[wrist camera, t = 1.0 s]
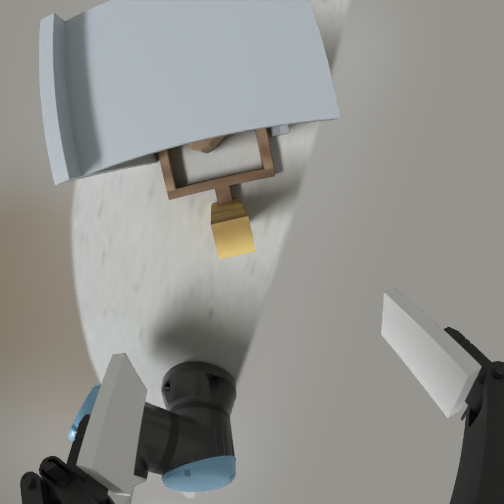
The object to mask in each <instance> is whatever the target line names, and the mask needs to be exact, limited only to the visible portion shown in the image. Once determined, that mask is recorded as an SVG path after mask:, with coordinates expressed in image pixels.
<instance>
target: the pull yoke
mask: <svg viewBox="0 0 504 504" xmlns="http://www.w3.org/2000/svg"><path fill="white" fill-rule="evenodd" d="M255 132H256V137H257V142H258V147H259V152H260V157H261V162H262V168H263V169H258V170H253V171H248V172H243V173H238V174H233V175H229V176H224V177H220V178H215V179H211V180H207V181H202V182H198V183H194V184H190V185H186V186H182V187H178V188H177V185H176V180H175V176H174V172H173V168H172V163H171V159H170V154H169V150H168V149H166V150H163V151H159V152H158V155H159V159H160V164H161V168H162V172H163V177H164V181H165V185H166V189H167V193H168V197H169V200H171V199H175V198H179V197H182V196H186V195H190V194H195V193H199V192H203V191H207V190H211V189H215V192H216V196H217V201H218V203H216V204H212V206H211V227H212V232H213V236H214V240H215V244H216V248H217V252H218V256H219V260H220V259H224V258H229V257H233V256H237V255H242V254H246V253H251V252H255V247H254V242H253V237H252V232H251V227H250V222H249V217H248V215H247V213H246V211H245V209H244V207H243V206H242V204H241V202H240V200H239V198H238V199H234V200H232V197H231V192H230V187H229V185H234V184H238V183H243V182H248V181H253V180H258V179H263V178H268V177H273V176H275V173H274V167H273V162H272V157H271V151H270V146H269V141H268V136H267V131H266V128H262V129H256V130H255Z"/></svg>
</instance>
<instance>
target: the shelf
mask: <svg viewBox="0 0 504 504" xmlns="http://www.w3.org/2000/svg"><path fill="white" fill-rule="evenodd" d="M39 39H40V40H39V76H40V95H41V105H42V116H43V124H44V131H45V138H46V144H47V150H48V155H49V160H50V165H51V170H52V175H53V179H54V183H55V185H58V184H62V183H66V182H69V181H73V180H77V179H81V178H85V177H90V176H94V175H98V174H103V173H107V172H112V171H117V170H121V169H126V168H132V167H137V166H142V165H148V164H152V163H156V157H155V153H156V152H159V151H163V150H166V149H170V148H174V147H178V146H181V145H185V144H189V143H193V142H198V141H202V140H206V139H211V138H215V137H220V136H225V135H229V134H235V133H240V132H245V131H251V130H256V129H262V128H270V133H271V137H272V136H279V135H282V134H286V133H289V128H288V125H290V124H297V123H306V122H315V121H326V120H334V119H339V118H340V114H339V109H338V103H337V99H336V94H335V90H334V85H333V80H332V76H331V72H330V68H329V64H328V60H327V56H326V52H325V48H324V45H323V41H322V37H321V34H320V31H319V27H318V24H317V21H316V18H315V15H314V11H313V8H312V5H311V2H310V0H111V1H109V2H106V3H104V4H101V5H99V6H97V7H94V8H92V9H90V10H88V11H86V12H83V13H81V14H79V15H77V16H75V17H73V18H71V19H69V20H67V21H64V20H63V19H61V18H60V17H59V16H58V15H56V14H55V13H53V14H51V15H49V16H47V17H46V18H44V19H43V20H41V22H40V38H39Z"/></svg>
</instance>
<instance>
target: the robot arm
mask: <svg viewBox="0 0 504 504" xmlns="http://www.w3.org/2000/svg"><path fill="white" fill-rule="evenodd" d="M381 335H382V336H383V337H384V338H385V339H386V341H387V342H388V343H389V344H390V346H391V347H392V348H393V349H394V350H395V352H396V353H397V354H398V355H399V356H400V358H401V359H402V360H403V361H404V363H405V364H406V365H407V366H408V368H409V369H410V370H411V371H412V373H413V374H414V375H415V376H416V378H417V379H418V380H419V381H420V382H421V384H422V385H423V387H424V388H425V389H426V390H427V392H428V393H429V394H430V396H431V397H432V398H433V400H434V401H435V402H436V403H437V405H438V406H439V407H440V409H441V410H442V411H443V413H444V414H445V415H446V417H447V418H449V417H450V416H452V415H453V414H455V413H456V412H457V411H459V410H460V409H461V407H462V405H463V404H464V402H466V403H467V404H468V407H467V409H466V410H465V412H464V414H463V415H462V418H461V420H463V419H464V417H465V416H466V421H465V430H464V438H463V445H462V452H461V457H460V463H459V468H458V473H457V477H456V482H455V486H454V490H453V494H452V497H451V501H450V504H504V362H500V361H496V362H491V361H490V360H489V359H488V358H487V357H485V356H484V354H482V353H481V352H480V351H479V350H478V349H477V348H476V347H475V346H474V345H473V344H471V343H470V341H469V340H467V339H465V337H464V336H463V335H462V334H461V333H460V332H459V331H457V330H455V329H452V328H450V327H447V328H445V329H442V328H441V327H440V326H439V325H438V324H437V323H436V322H434V321H433V320H432V319H431V318H430V317H429V316H428V315H427V314H426V313H424V312H423V311H422V310H421V309H420V308H419V307H418V306H416V305H415V304H414V303H413V302H412V301H411V300H409V299H408V298H407V297H406V296H405V295H404V294H403V293H401V292H400V291H399V290H398V289H397V288H395V289H392V290H389V291H386V292H384V302H383V317H382V330H381ZM146 394H147V389H146V387H145V385H144V384H143V382H142V381H141V379H140V377H139V376H138V374H137V372H136V371H135V369H134V367H133V366H132V364H131V362H130V360H129V359H128V357H127V355H126V353H122V354H114V355H112V358H111V360H110V363H109V366H108V368H107V371H106V373H105V376H104V379H103V382H102V384H97V385H95V386H94V387H93V388H92V390H91V391H90V393H89V395H88V396H87V398H86V400H85V401H84V403H83V405H82V407H81V409H80V410H79V412H78V414H77V416H76V418H75V420H74V423H73V425H72V427H71V429H70V431H69V433H68V438H69V439H70V440H71V442H73V444H72V447H71V450H70V454H69V457H68V460H67V464H65V463H64V462H63V461H62V460H60V459H59V458H58V457H56V456H50V457H47V458H45V459H44V460H43V461H42V463H41V464H40V468H39V473H40V475H41V476H42V477H40V476H39V475H37V474H36V473H34V472H27V473H25V474H24V475H23V476H22V478H21V483H20V487H21V496H22V504H131V501H132V496H133V491H134V487H135V486H136V485H138V484H140V483H143V482H145V481H146V480H147V475H148V471H150V472H153V473H156V474H160V475H162V478H161V479H162V481H163V483H164V485H165V486H166V487H169V488H171V489H173V490H177V491H183V492H204V491H211V490H215V489H218V488H222V487H224V486H226V485H228V484H229V483H231V482H232V481H233V479H234V478H235V475H236V467H235V466H236V465H235V464H236V463H235V462H236V458H235V455H234V447H233V440H232V432H231V423H230V414H231V411H232V408H233V405H234V402H235V399H236V387H235V382H234V380H233V378H232V377H231V375H230V374H229V373H227V372H226V371H225V370H223V369H222V368H220V367H217V366H215V365H212V364H208V363H201V362H191V363H184V364H181V365H178V366H175V367H173V368H172V369H170V370H169V371H168V372H167V373H166V374H165V376H164V378H163V382H162V396H163V400H164V403H165V407H166V410H165V409H163V408H160V407H158V406H155V405H152V404H150V403H148V402H145V399H146Z"/></svg>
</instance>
